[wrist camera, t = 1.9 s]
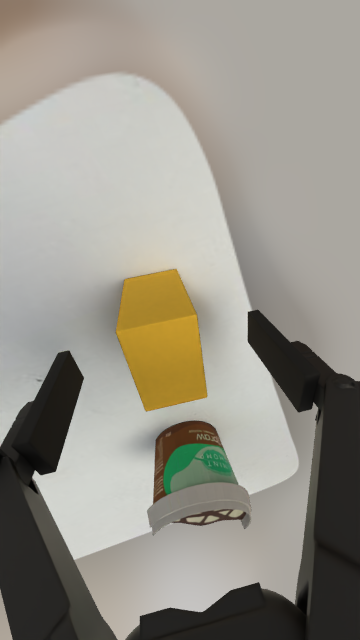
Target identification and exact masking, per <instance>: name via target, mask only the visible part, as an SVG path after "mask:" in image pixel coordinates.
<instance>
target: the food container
mask: <svg viewBox="0 0 360 640" xmlns="http://www.w3.org/2000/svg"><path fill="white" fill-rule="evenodd" d="M147 513H148V518H149V524H150V527H152V531H153V535H154V534H155V533H156V532H157V531H159V530H160V529H161V528H163V527H164V526H166V525H168V524H170V523H186V524H192V525H200V526H202V525H207V524H211V523H214V522H217V521H222V520H237V519H239V520H241V522H242V525H243V527H244V529H246V528H247V527H248V525H249V524H250V522H251V505H250V500H249V494H248V492H247V490H246V489H245V488H243V487H242V486H240V485H238V482H237V480H236V477H235V475H234V472H233V470H232V468H231V465H230V463H229V460H228V458H227V456H226V453H225V451H224V448H223V446H222V444H221V441H220V439H219V436H218V434H217V432H216V429H215V428H214V427H213V426H212V425H210V424H208V423H206V422H201V421H188V422H183V423H179V424H176V425H173V426H171V427H169V428H168V429H166V430H165V431H163V432H162V433H161V434H160V435H159V436H158V437H157V439H156V446H155V472H154V497H153V505H152V506H151V507H150V508H149V509H148V510H147Z"/></svg>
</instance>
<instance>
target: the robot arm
mask: <svg viewBox="0 0 360 640" xmlns="http://www.w3.org/2000/svg"><path fill="white" fill-rule="evenodd" d="M248 343H249V344H250V345H251V347H252V348H253V350H254V351H255V352H256V354H257V355H258V357H259V358H260V359H261V361H262V362H263V364H264V365H265V366H266V368H267V369H268V371H269V372H270V373H271V375H272V376H273V378H274V379H275V380H276V382H277V383H278V385H279V386H280V387H281V389H282V390H283V392H284V393H285V394H286V396H287V397H288V398H289V400H290V401H291V403H292V404H293V406H294V407H295V409H296V410H297V411H298V412H302V411H306V410H310V409H312V406H313V402H314V403H315V404H316V406H317V407H318V412H317V415H316V419H315V420H316V430H315V439H314V449H313V458H312V467H311V476H310V486H309V495H308V504H307V513H306V523H305V532H304V541H303V551H302V559H301V565H300V570H299V576H298V583H297V591H296V600H295V605H294V604H293V603H292V602H291V601H289V600H288V599H286V598H285V597H284V596H282V595H280V594H278V593H276V592H273V591H270V590H267V589H261V587H260V584H259V582H258V583H255V584H251V585H248V586H245V587H241V588H237V589H234V590H231V591H229V592H228V593H227V594H226V595H224V596H223V597H222V598H220V599H219V600H218V601H217V602H215V603H214V604H213V605H212V606H210V607H209V608H208V609H207V610H205V611H203V612H194V611H188V610H181V609H175V608H167V609H164V610H160V611H157V612H153V613H150V614H146V615H142V616H140V625H139V626H137V627H136V628H135V629H134V630H133V631H132V632H131V633H130V634H129V635H128V637H127V638H126V640H360V381H355V380H354V379H352V378H351V377H349V376H346V375H343V374H337V373H336V372H334V370H333V369H331V368H330V367H329V366H328V365H327V364H326V363H325V362H324V361H323V360H322V359H321V358H320V357H319V356H317V355H316V354H315V353H314V352H312V350H311V349H310V348H309V347H308V346H307V345H305V344H303V343H301V342H299V341H295V342H291V343H290V342H289V341H288V340H287V339H286V338H285V337H284V336H283V335H282V334H281V333H280V332H279V331H278V330H277V328H275V326H274V325H273V324H272V323H271V322H269V321H268V319H267V318H266V317H265V316H264V315H263V314H262V313H260V311H259V310H255V311H250V312H248ZM83 380H84V377H83V375H82V373H81V371H80V370H79V368H78V366H77V364H76V362H75V360H74V358H73V357H72V355H71V353H70V351H64V352H60V353H58V354H57V356H56V358H55V360H54V362H53V364H52V366H51V368H50V370H49V372H48V374H47V376H46V378H45V380H44V382H43V384H42V386H41V388H40V390H39V392H38V394H37V396H36V398H35V400H34V401H32V402H28V403H27V404H26V405H25V406H24V407H23V408H22V409H21V410H20V412H19V414H18V415H17V417H16V421H14V423H13V425H12V428H10V430H9V432H8V434H7V436H6V437H5V439H4V441H3V443H2V445H1V447H0V589H1V593H2V598H3V602H4V606H5V610H6V614H7V618H8V622H9V626H10V630H11V634H12V638H13V640H117V638H116V636H115V635H114V633H113V631H112V630H111V628H110V627H109V625H108V624H107V623H106V622H105V621H104V619H103V617H102V616H101V614H100V612H99V610H98V608H97V606H96V604H95V602H94V600H93V598H92V596H91V594H90V592H89V590H88V588H87V586H86V584H85V582H84V580H83V578H82V576H81V574H80V572H79V570H78V568H77V566H76V564H75V562H74V559H73V557H72V555H71V553H70V551H69V549H68V547H67V545H66V543H65V541H64V539H63V537H62V535H61V533H60V531H59V529H58V527H57V525H56V523H55V521H54V519H53V517H52V515H51V513H50V511H49V509H48V507H47V505H46V502H45V500H44V498H43V496H42V494H41V492H40V490H39V488H38V486H37V484H36V482H35V481H34V480H33V479H32V476H33V474H34V471H35V470H36V471H37V472H38V473H39V474H40V475H44V474H48V473H52V472H56V469H57V466H58V462H59V459H60V456H61V453H62V449H63V446H64V443H65V439H66V436H67V433H68V429H69V426H70V423H71V419H72V416H73V413H74V409H75V406H76V403H77V399H78V396H79V393H80V390H81V386H82V383H83Z"/></svg>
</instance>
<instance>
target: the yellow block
mask: <svg viewBox="0 0 360 640" xmlns="http://www.w3.org/2000/svg"><path fill="white" fill-rule="evenodd" d="M116 334H117V337H118V340H119V342H120V345H121V348H122V350H123V353H124V355H125V358H126V361H127V363H128V366H129V369H130V371H131V374H132V377H133V379H134V382H135V385H136V387H137V390H138V392H139V395H140V398H141V400H142V403H143V406H144V408H145V411H151V410H155V409H160V408H164V407H168V406H172V405H177V404H181V403H185V402H190V401H194V400H198V399H202V398H207V389H206V381H205V373H204V366H203V358H202V350H201V342H200V334H199V327H198V319H197V314H196V312H195V309H194V307H193V305H192V303H191V300H190V298H189V296H188V294H187V291H186V289H185V287H184V285H183V282H182V280H181V278H180V276H179V274H178V271H177V269H173V270H168V271H163V272H158V273H153V274H148V275H143V276H138V277H133V278H128V279H125V280H124V286H123V292H122V298H121V304H120V310H119V316H118V322H117V328H116Z"/></svg>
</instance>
